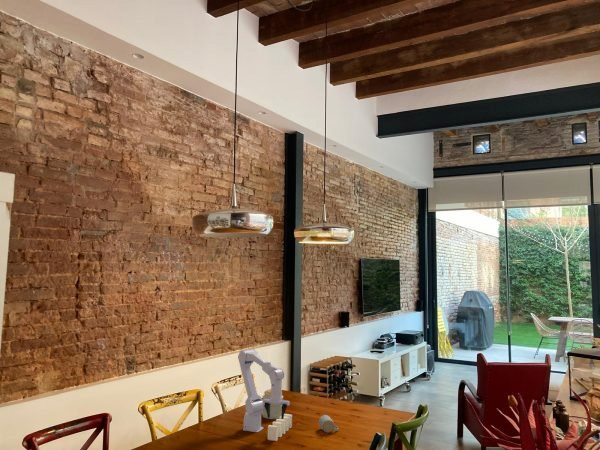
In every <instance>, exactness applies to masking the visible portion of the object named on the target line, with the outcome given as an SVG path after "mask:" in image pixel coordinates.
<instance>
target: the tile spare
mask: <svg viewBox="0 0 600 450" xmlns="http://www.w3.org/2000/svg"><path fill="white" fill-rule="evenodd" d="M267 440H268V441H275V442H277V441H278V440H279V437H278V426H274V425H271V424H269V425H267Z"/></svg>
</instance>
